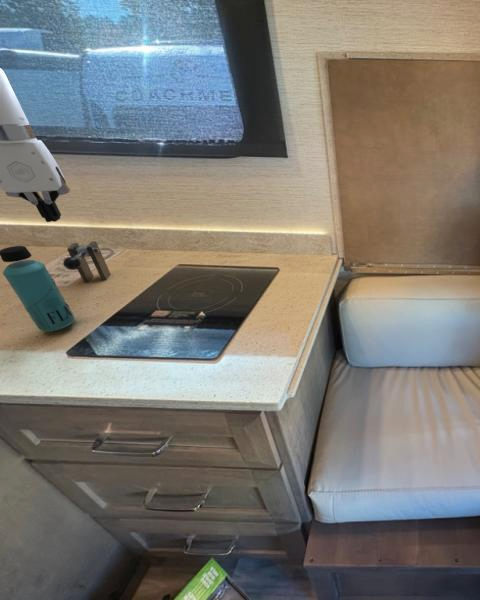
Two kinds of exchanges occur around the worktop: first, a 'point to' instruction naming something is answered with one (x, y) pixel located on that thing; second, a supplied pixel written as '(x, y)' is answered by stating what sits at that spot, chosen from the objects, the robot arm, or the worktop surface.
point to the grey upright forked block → (97, 260)
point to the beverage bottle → (36, 290)
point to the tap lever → (76, 258)
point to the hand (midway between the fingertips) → (53, 220)
